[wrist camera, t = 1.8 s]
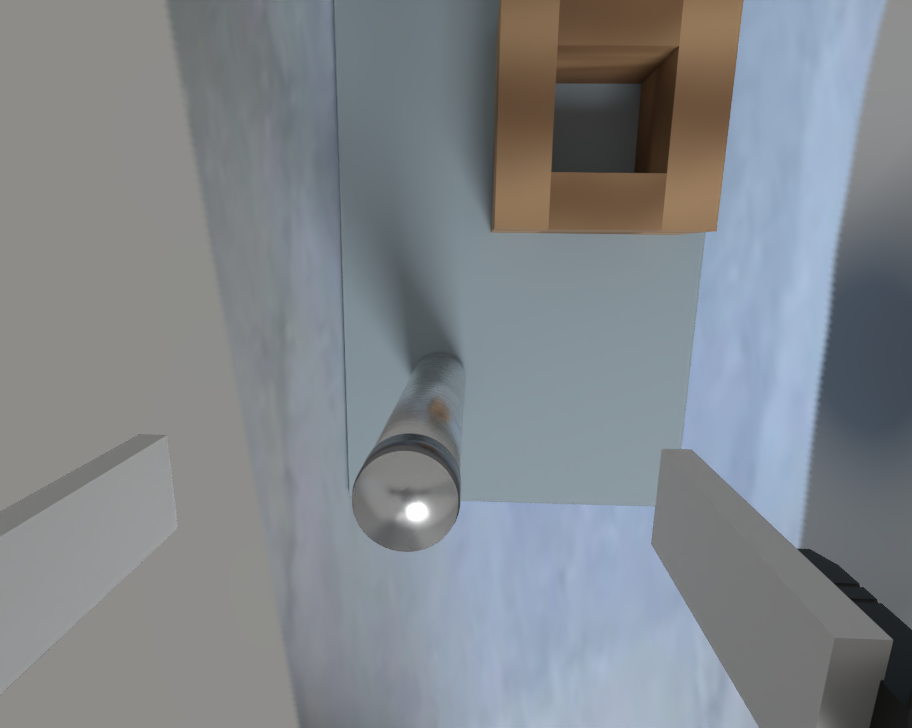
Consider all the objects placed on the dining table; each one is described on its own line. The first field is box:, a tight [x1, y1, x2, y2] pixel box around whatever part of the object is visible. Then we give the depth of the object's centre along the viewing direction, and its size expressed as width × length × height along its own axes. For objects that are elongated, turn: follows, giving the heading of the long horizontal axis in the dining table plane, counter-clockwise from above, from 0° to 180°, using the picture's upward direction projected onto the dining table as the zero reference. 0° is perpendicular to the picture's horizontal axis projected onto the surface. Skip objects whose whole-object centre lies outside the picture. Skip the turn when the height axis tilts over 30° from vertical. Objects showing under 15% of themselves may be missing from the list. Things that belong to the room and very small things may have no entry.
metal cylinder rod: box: [352, 352, 466, 552], centre depth 20 cm, size 3×3×14 cm
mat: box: [334, 0, 705, 506], centre depth 26 cm, size 26×18×1 cm
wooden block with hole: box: [491, 0, 743, 235], centre depth 22 cm, size 9×9×4 cm
